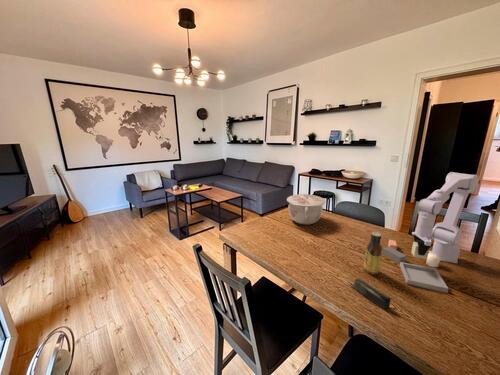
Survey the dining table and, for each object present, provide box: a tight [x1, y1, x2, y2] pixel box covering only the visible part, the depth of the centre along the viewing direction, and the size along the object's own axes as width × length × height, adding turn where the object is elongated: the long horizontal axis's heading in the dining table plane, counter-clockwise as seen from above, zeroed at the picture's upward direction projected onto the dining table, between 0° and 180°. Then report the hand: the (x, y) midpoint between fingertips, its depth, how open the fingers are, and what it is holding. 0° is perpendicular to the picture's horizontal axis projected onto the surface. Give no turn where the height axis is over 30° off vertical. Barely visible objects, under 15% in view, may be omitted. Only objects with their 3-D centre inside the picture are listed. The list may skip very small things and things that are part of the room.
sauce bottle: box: [363, 231, 383, 276], centre depth 96 cm, size 6×6×20 cm
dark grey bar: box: [349, 278, 392, 310], centre depth 83 cm, size 5×3×15 cm
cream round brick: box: [425, 252, 441, 268], centre depth 101 cm, size 5×5×5 cm
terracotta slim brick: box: [387, 239, 398, 251], centre depth 116 cm, size 3×6×4 cm, turn 154°
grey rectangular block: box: [382, 246, 407, 264], centre depth 108 cm, size 5×9×4 cm, turn 18°
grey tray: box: [399, 262, 449, 294], centre depth 92 cm, size 14×14×2 cm
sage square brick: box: [410, 241, 428, 260], centre depth 97 cm, size 4×4×6 cm
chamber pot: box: [286, 193, 326, 225], centre depth 152 cm, size 28×28×21 cm
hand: (419, 251), depth 97 cm, fingers closed on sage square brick, 4 cm apart
